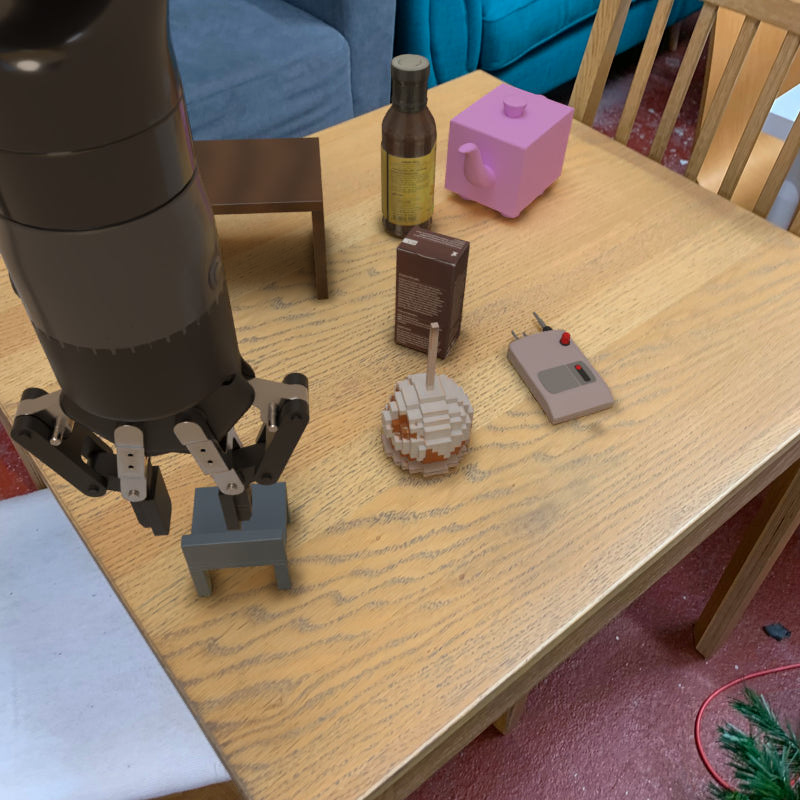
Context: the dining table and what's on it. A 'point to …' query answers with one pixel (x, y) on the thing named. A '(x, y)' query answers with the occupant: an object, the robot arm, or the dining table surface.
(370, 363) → the dining table surface
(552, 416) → the remote control
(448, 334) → the box
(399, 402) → the candy apple
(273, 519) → the chair
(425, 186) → the sauce bottle
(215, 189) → the desk
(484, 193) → the teapot
